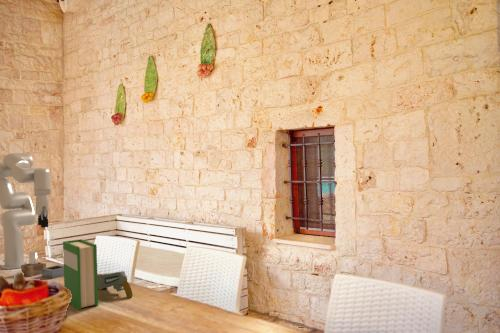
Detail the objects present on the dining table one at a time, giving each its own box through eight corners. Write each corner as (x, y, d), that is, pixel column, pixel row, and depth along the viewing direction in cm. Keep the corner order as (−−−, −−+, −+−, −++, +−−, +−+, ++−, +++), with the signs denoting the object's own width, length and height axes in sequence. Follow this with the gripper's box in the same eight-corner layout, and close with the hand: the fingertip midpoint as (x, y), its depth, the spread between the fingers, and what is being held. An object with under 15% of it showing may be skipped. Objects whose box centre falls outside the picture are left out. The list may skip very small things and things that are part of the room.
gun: (107, 307, 191) (99, 274, 194) (136, 295, 176) (127, 260, 179) (100, 309, 188) (93, 275, 192) (129, 297, 173) (120, 261, 177)
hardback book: (98, 305, 166) (96, 244, 166) (78, 310, 161) (76, 247, 161) (83, 295, 179) (81, 239, 179) (64, 299, 175) (62, 241, 175)
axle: (28, 274, 219) (27, 253, 219) (35, 272, 223) (34, 251, 223) (32, 275, 217) (31, 253, 217) (39, 273, 221) (39, 252, 220)
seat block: (41, 276, 214) (41, 268, 214) (58, 272, 221) (58, 264, 221) (52, 278, 209) (52, 270, 209) (68, 274, 216) (68, 266, 216)
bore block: (21, 274, 219) (21, 265, 219) (37, 271, 226) (36, 261, 226) (30, 276, 214) (30, 266, 214) (46, 272, 221) (46, 263, 221)
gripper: (31, 192, 222) (32, 224, 222) (36, 194, 208) (37, 229, 208) (47, 191, 226) (48, 223, 227) (53, 193, 212) (54, 227, 212)
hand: (43, 226), depth 217 cm, fingers open, 9 cm apart
